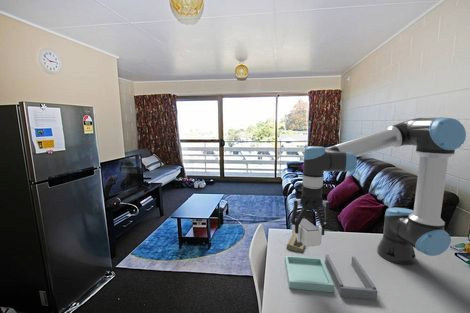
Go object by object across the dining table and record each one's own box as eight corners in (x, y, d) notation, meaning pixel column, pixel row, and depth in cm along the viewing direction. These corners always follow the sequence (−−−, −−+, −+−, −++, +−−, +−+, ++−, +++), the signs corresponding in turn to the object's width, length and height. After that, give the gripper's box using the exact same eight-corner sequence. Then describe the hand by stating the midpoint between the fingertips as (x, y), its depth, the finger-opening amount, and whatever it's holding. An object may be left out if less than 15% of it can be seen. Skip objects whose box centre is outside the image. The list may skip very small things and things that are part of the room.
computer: (303, 253, 116) (303, 247, 116) (286, 249, 119) (286, 243, 119) (307, 239, 130) (308, 233, 130) (292, 236, 134) (293, 230, 133)
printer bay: (354, 265, 106) (354, 256, 106) (376, 300, 85) (377, 289, 85) (325, 263, 108) (325, 254, 107) (340, 296, 87) (341, 286, 86)
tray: (321, 264, 107) (321, 258, 106) (333, 292, 89) (333, 285, 89) (284, 261, 108) (285, 255, 108) (289, 288, 91) (289, 281, 90)
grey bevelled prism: (304, 231, 106) (305, 217, 105) (320, 245, 94) (321, 229, 93) (291, 232, 104) (292, 218, 103) (306, 246, 93) (307, 231, 92)
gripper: (336, 184, 96) (332, 238, 99) (284, 182, 98) (282, 235, 101) (342, 190, 89) (337, 248, 92) (286, 187, 91) (283, 244, 94)
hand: (308, 241), depth 97 cm, fingers closed on grey bevelled prism, 7 cm apart
